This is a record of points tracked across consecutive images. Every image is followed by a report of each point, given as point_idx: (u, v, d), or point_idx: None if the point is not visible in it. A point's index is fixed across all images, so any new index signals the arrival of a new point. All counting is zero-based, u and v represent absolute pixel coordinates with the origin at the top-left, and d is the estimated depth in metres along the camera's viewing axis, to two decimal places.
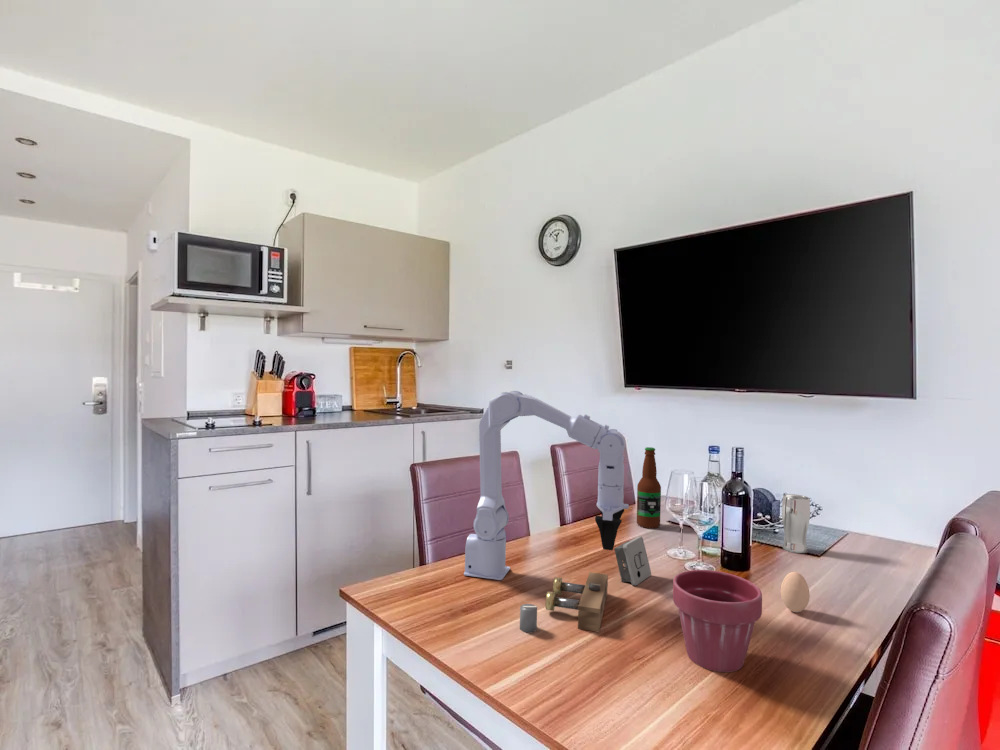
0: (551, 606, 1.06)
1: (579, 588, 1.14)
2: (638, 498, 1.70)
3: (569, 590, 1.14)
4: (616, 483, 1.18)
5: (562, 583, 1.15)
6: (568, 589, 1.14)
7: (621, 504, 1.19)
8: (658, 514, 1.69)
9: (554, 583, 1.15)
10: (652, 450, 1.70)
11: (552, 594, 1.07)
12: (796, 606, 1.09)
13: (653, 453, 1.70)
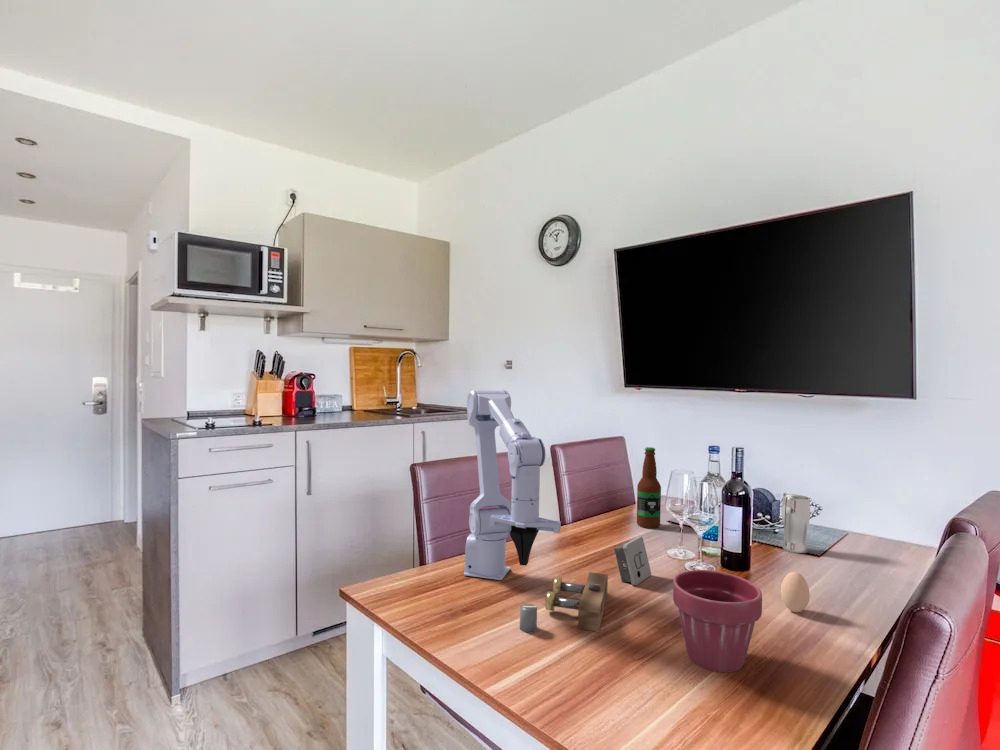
0: (551, 606, 1.06)
1: (579, 588, 1.14)
2: (638, 498, 1.70)
3: (569, 590, 1.14)
4: (517, 496, 1.07)
5: (562, 583, 1.15)
6: (568, 589, 1.14)
7: (515, 520, 1.07)
8: (658, 514, 1.69)
9: (554, 583, 1.15)
10: (652, 450, 1.70)
11: (552, 594, 1.07)
12: (796, 606, 1.09)
13: (653, 453, 1.70)
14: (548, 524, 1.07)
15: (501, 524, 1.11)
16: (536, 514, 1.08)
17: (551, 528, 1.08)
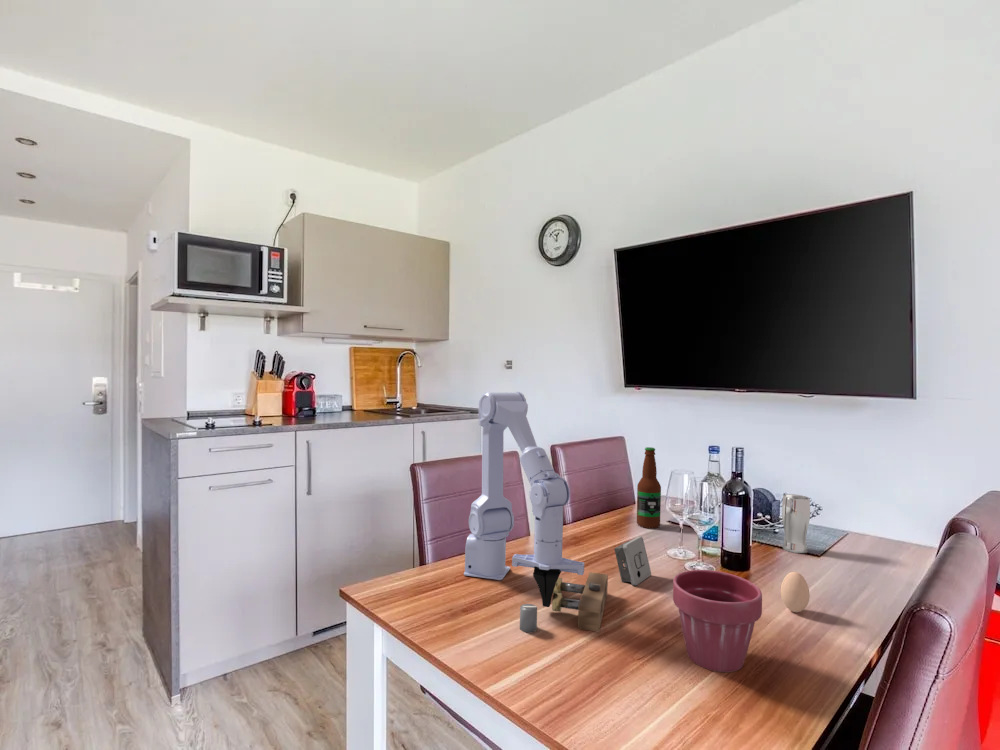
0: (558, 607, 1.06)
1: (579, 588, 1.14)
2: (638, 498, 1.70)
3: (569, 590, 1.14)
4: (542, 538, 1.06)
5: (562, 583, 1.15)
6: (568, 589, 1.14)
7: (539, 561, 1.06)
8: (658, 514, 1.69)
9: None
10: (652, 450, 1.70)
11: (559, 595, 1.07)
12: (796, 606, 1.09)
13: (653, 453, 1.70)
14: (572, 566, 1.05)
15: (524, 564, 1.09)
16: (559, 555, 1.06)
17: (575, 570, 1.06)
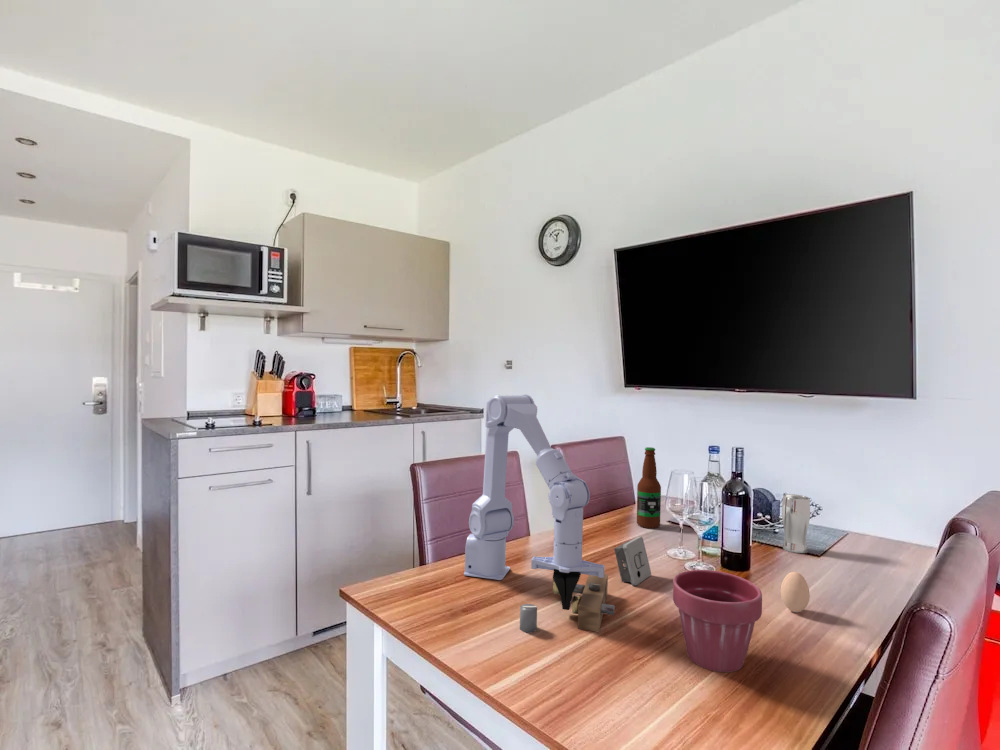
0: None
1: (579, 588, 1.14)
2: (638, 498, 1.70)
3: None
4: (563, 540, 1.04)
5: None
6: None
7: (559, 564, 1.05)
8: (658, 514, 1.69)
9: (554, 583, 1.15)
10: (652, 450, 1.70)
11: (579, 598, 1.06)
12: (796, 606, 1.09)
13: (653, 453, 1.70)
14: (592, 568, 1.04)
15: (543, 567, 1.08)
16: (579, 558, 1.05)
17: (595, 573, 1.05)
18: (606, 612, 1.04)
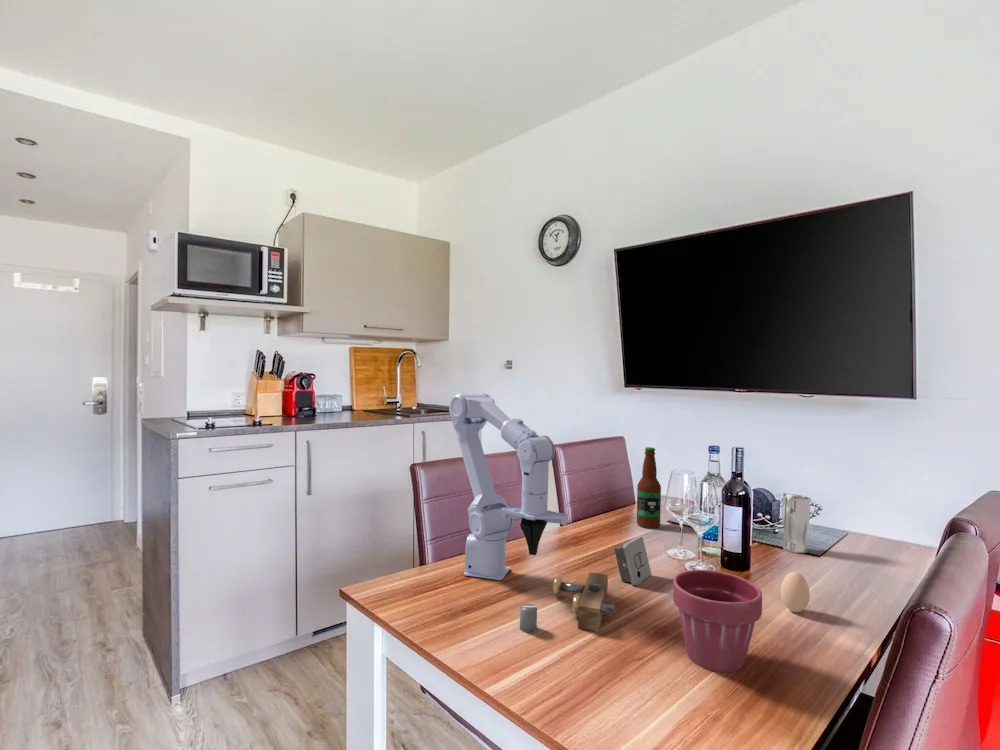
0: None
1: (579, 588, 1.14)
2: (638, 498, 1.70)
3: (569, 590, 1.14)
4: (531, 491, 1.14)
5: (562, 583, 1.15)
6: (568, 589, 1.14)
7: (526, 512, 1.15)
8: (658, 514, 1.69)
9: (554, 583, 1.15)
10: (652, 450, 1.70)
11: (579, 598, 1.06)
12: (796, 606, 1.09)
13: (653, 453, 1.70)
14: (556, 516, 1.14)
15: (512, 516, 1.18)
16: (544, 507, 1.15)
17: (559, 521, 1.15)
18: (606, 612, 1.04)
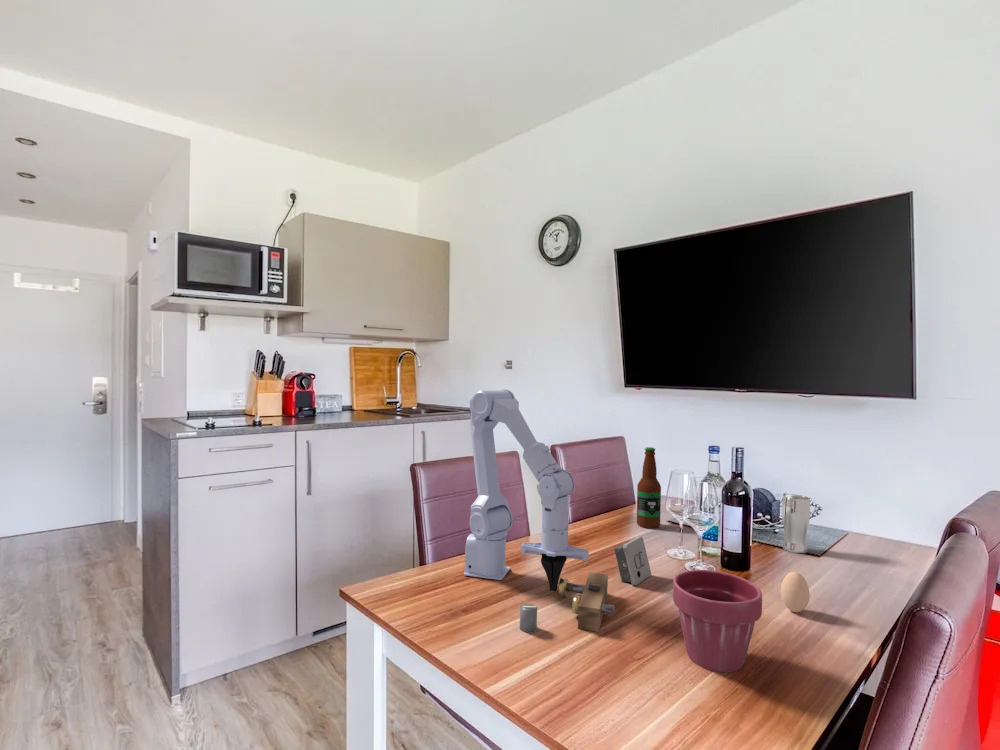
0: None
1: None
2: (638, 498, 1.70)
3: (575, 591, 1.14)
4: (553, 527, 1.13)
5: (568, 584, 1.15)
6: (573, 590, 1.14)
7: (546, 548, 1.14)
8: (658, 514, 1.69)
9: (560, 583, 1.14)
10: (652, 450, 1.70)
11: (579, 598, 1.06)
12: (796, 606, 1.09)
13: (653, 453, 1.70)
14: (577, 553, 1.13)
15: (532, 552, 1.17)
16: (565, 543, 1.14)
17: (580, 557, 1.14)
18: (606, 612, 1.04)
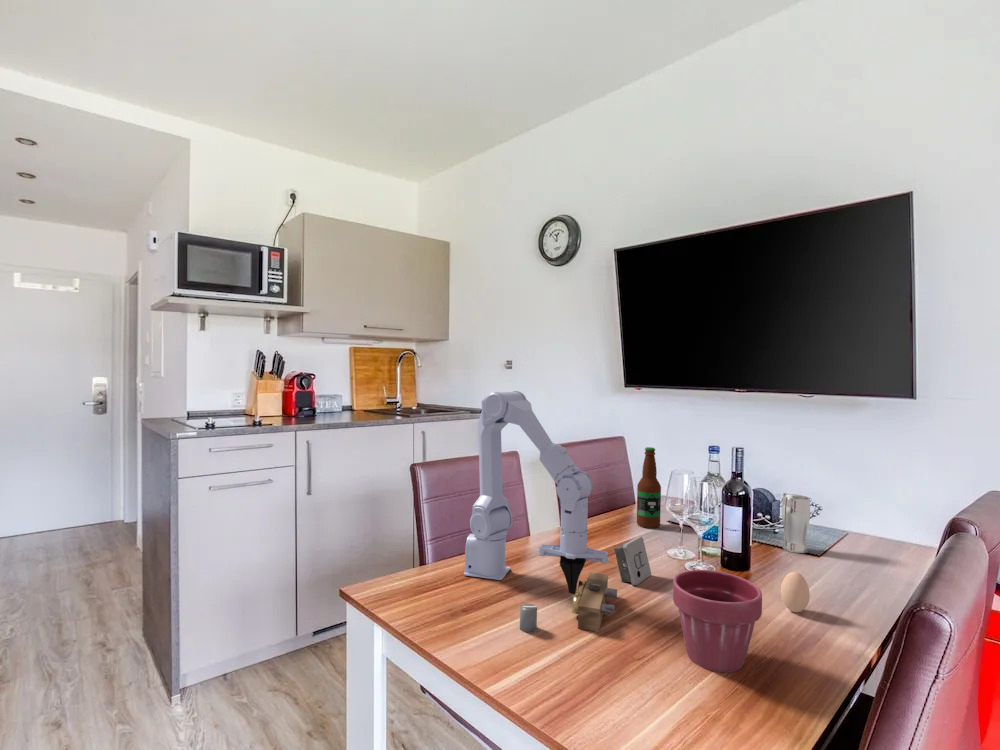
0: None
1: None
2: (638, 498, 1.70)
3: None
4: (574, 529, 1.12)
5: None
6: None
7: (565, 551, 1.13)
8: (658, 514, 1.69)
9: (579, 586, 1.13)
10: (652, 450, 1.70)
11: (579, 598, 1.06)
12: (796, 606, 1.09)
13: (653, 453, 1.70)
14: (597, 555, 1.12)
15: (550, 554, 1.16)
16: (584, 545, 1.13)
17: (599, 559, 1.13)
18: (606, 612, 1.04)
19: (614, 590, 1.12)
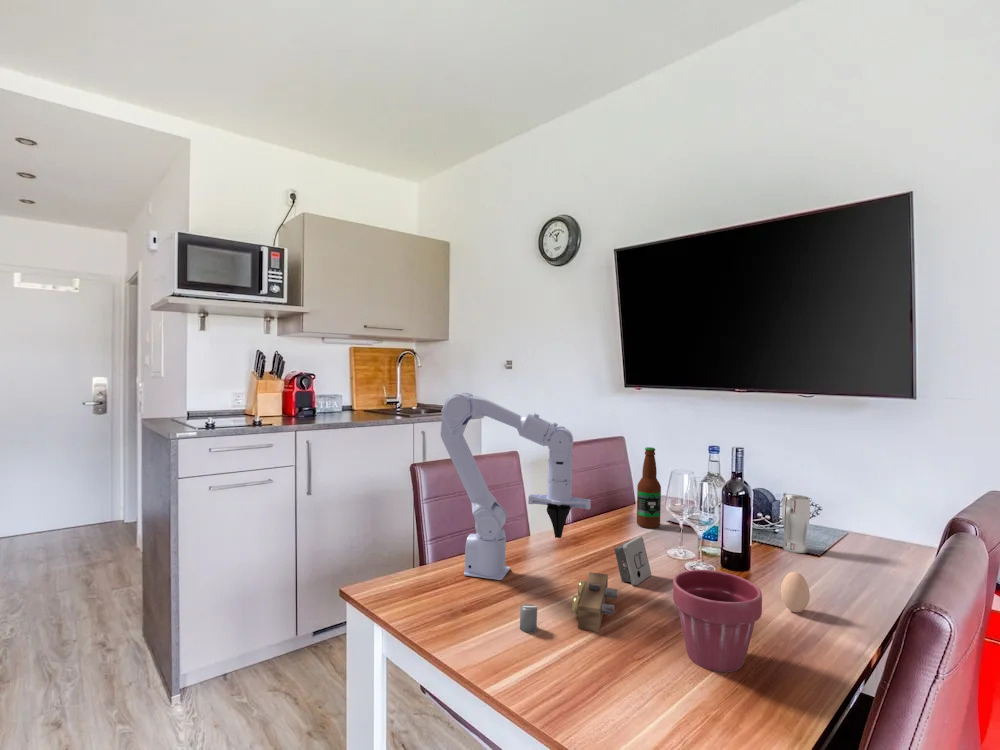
0: None
1: None
2: (638, 498, 1.70)
3: None
4: (565, 478, 1.23)
5: None
6: None
7: (552, 498, 1.24)
8: (658, 514, 1.69)
9: (579, 586, 1.13)
10: (652, 450, 1.70)
11: (579, 598, 1.06)
12: (796, 606, 1.09)
13: (653, 453, 1.70)
14: (580, 502, 1.23)
15: (538, 502, 1.27)
16: (569, 493, 1.24)
17: (582, 506, 1.24)
18: (606, 612, 1.04)
19: (614, 590, 1.12)
